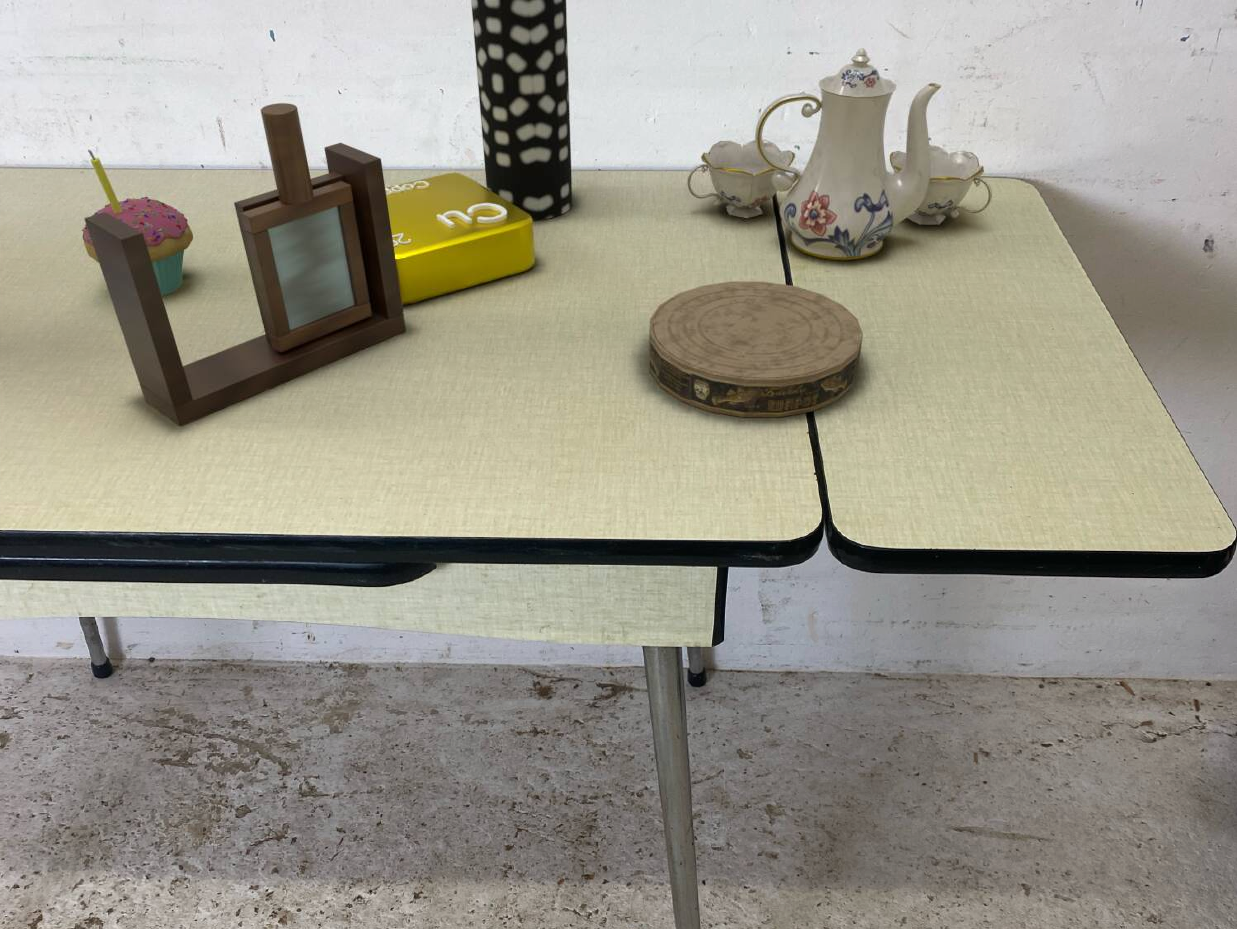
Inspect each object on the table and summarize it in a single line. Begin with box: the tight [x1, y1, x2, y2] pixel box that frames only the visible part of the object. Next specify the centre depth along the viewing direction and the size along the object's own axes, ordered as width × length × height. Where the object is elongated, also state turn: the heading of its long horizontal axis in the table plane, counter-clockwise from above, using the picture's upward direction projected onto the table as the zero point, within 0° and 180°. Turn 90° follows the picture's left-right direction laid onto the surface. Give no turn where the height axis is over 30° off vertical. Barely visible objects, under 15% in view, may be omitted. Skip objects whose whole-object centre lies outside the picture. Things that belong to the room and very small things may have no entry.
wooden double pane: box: [84, 142, 407, 427], centre depth 79 cm, size 20×5×14 cm, turn 136°
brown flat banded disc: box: [648, 281, 864, 418], centre depth 82 cm, size 16×16×3 cm
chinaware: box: [686, 47, 993, 261], centre depth 97 cm, size 28×17×17 cm, turn 89°
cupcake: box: [81, 149, 194, 297], centre depth 89 cm, size 9×8×12 cm
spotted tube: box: [470, 0, 573, 221], centre depth 100 cm, size 8×8×20 cm
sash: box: [241, 102, 372, 352], centre depth 78 cm, size 8×2×16 cm, turn 136°
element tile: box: [385, 172, 536, 306], centre depth 96 cm, size 15×15×5 cm
